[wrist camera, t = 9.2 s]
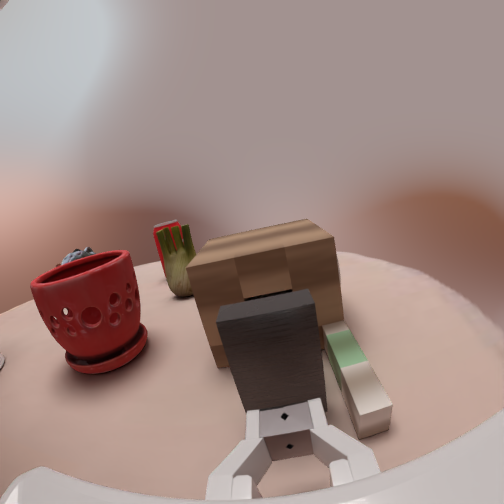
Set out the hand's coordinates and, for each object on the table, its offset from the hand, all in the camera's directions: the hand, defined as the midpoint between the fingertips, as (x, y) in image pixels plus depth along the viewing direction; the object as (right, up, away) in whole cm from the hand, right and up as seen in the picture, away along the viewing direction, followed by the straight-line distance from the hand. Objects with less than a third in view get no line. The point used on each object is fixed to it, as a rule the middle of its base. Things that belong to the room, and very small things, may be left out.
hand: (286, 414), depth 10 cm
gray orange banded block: (+1, -2, +13) cm, 13 cm away
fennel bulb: (-12, -1, +37) cm, 39 cm away
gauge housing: (+1, -3, +14) cm, 14 cm away
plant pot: (-19, -6, +20) cm, 28 cm away
